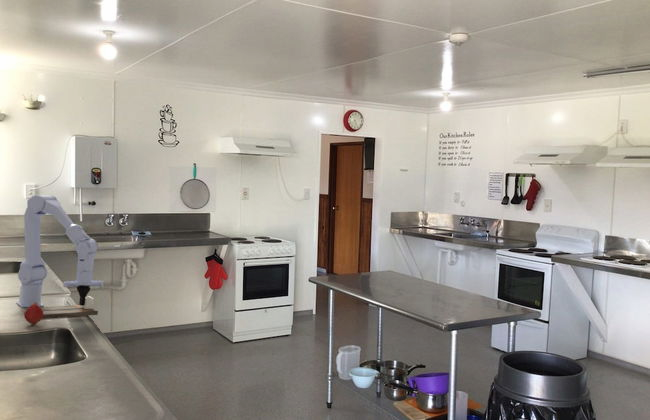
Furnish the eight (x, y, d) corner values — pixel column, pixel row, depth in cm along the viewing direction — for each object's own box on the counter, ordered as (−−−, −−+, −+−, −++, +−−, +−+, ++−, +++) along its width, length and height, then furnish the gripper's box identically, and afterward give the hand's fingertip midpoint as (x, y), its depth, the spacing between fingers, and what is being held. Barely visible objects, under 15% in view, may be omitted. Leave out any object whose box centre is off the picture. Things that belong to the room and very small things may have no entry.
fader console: (30, 311, 212) (30, 307, 212) (87, 308, 225) (87, 304, 225) (38, 318, 203) (38, 314, 202) (97, 314, 216) (97, 310, 216)
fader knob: (81, 306, 220) (81, 295, 220) (89, 305, 222) (89, 295, 222) (85, 309, 216) (86, 298, 216) (93, 308, 218) (94, 298, 218)
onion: (21, 326, 191) (23, 303, 190) (26, 322, 196) (27, 300, 196) (40, 327, 192) (42, 304, 192) (44, 323, 198) (45, 300, 198)
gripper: (68, 272, 210) (65, 308, 210) (107, 271, 219) (104, 306, 220) (62, 269, 215) (60, 304, 216) (101, 268, 225) (98, 302, 225)
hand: (82, 304), depth 218 cm, fingers closed, pressing on fader knob
